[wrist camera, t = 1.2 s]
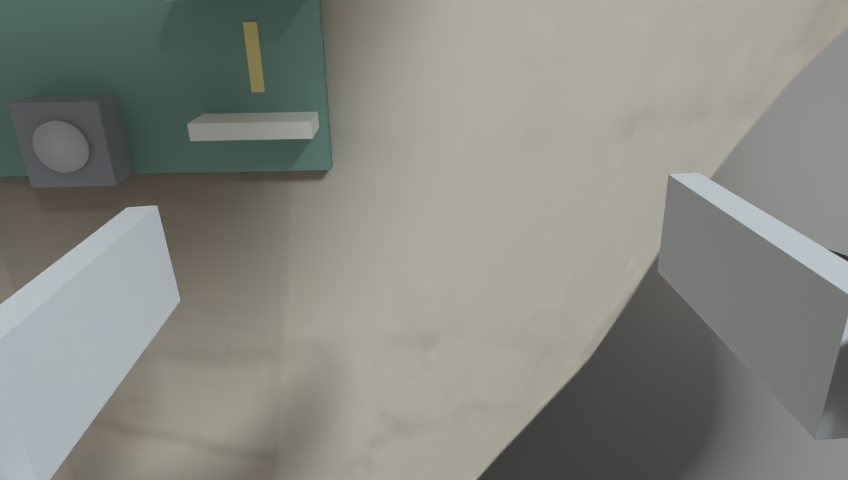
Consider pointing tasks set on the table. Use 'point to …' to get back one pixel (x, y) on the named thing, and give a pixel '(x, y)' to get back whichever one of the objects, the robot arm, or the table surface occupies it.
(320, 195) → the table surface
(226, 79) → the board
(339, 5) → the table surface
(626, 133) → the table surface
